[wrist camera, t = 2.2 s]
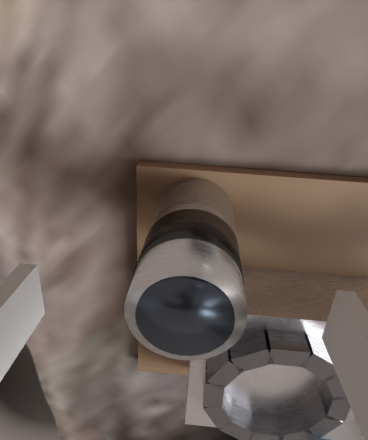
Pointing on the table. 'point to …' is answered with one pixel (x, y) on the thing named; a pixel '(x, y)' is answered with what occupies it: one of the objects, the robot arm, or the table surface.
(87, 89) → the table surface
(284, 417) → the camera body
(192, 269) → the lens
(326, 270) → the board
